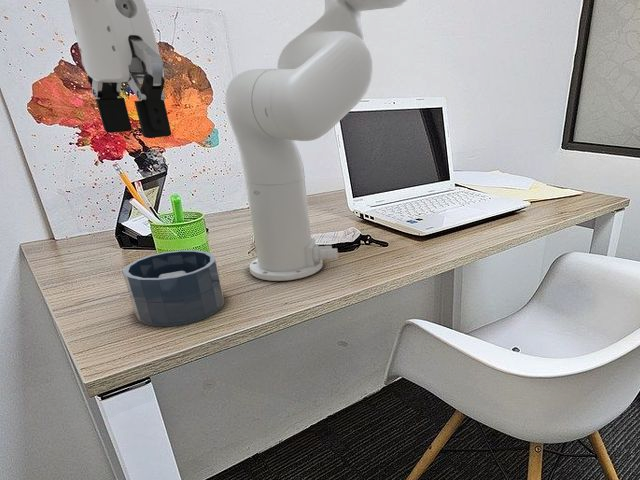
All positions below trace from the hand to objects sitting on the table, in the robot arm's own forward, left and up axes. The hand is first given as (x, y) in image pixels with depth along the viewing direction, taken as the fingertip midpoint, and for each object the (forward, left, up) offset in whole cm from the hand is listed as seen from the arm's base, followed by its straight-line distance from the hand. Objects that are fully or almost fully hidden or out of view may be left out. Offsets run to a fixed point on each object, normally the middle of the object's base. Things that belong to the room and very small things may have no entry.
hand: (137, 134), depth 59 cm
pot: (0, 0, -24) cm, 24 cm away
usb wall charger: (0, 0, -24) cm, 24 cm away
